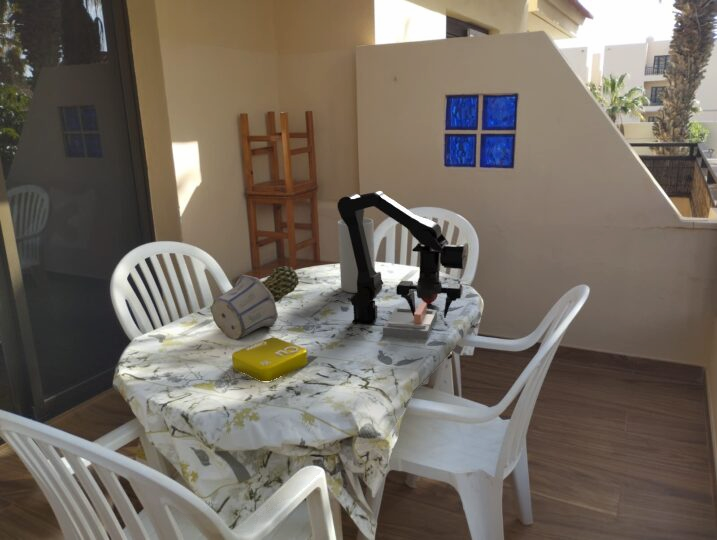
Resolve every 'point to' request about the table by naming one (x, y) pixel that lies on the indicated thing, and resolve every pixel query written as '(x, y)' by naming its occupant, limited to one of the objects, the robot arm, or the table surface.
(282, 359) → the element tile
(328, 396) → the table surface
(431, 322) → the box
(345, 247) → the cylinder vase
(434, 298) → the pomegranate
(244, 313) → the potted plant
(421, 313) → the lever
